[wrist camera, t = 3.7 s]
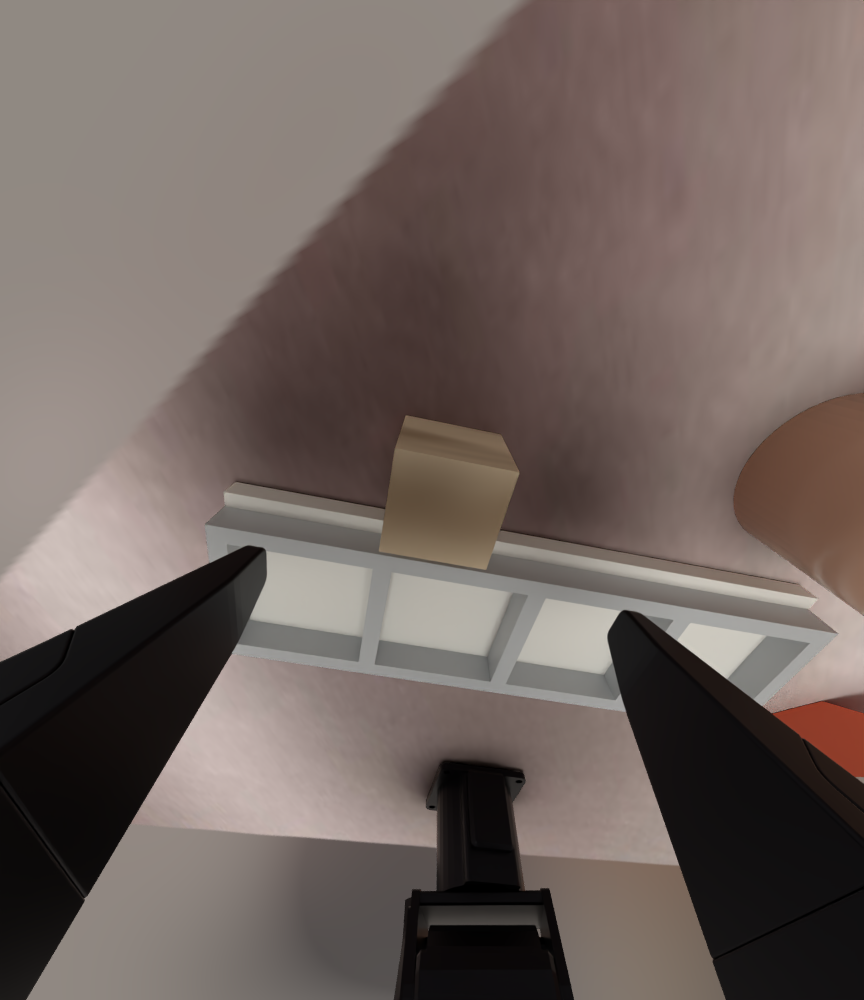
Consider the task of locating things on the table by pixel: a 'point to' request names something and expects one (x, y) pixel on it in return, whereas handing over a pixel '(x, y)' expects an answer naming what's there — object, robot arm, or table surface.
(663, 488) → the table surface
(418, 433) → the beech block
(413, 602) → the board
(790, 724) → the french fries container
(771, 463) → the terracotta mug
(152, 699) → the robot arm
